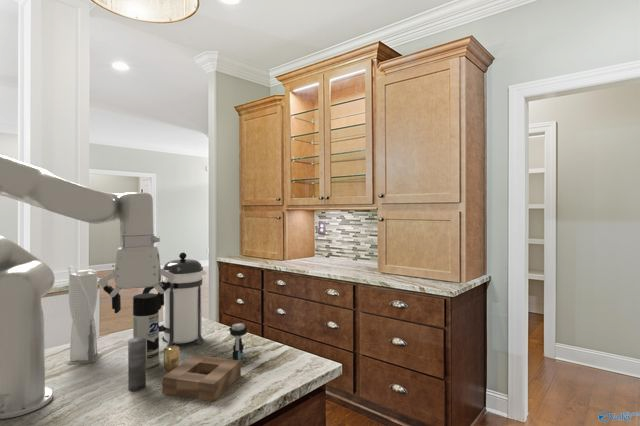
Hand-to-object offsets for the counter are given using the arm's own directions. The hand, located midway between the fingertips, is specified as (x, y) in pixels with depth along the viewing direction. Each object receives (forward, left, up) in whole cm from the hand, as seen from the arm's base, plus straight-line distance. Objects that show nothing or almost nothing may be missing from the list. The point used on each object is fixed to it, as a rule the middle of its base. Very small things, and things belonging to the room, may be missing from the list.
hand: (138, 310), depth 95 cm
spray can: (+12, +7, -20) cm, 24 cm away
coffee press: (+29, +8, -20) cm, 36 cm away
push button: (+24, -16, -20) cm, 35 cm away
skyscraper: (+11, +28, -20) cm, 36 cm away
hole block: (+6, -15, -20) cm, 25 cm away
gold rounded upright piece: (+11, -2, -20) cm, 22 cm away
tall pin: (0, 0, -20) cm, 20 cm away
